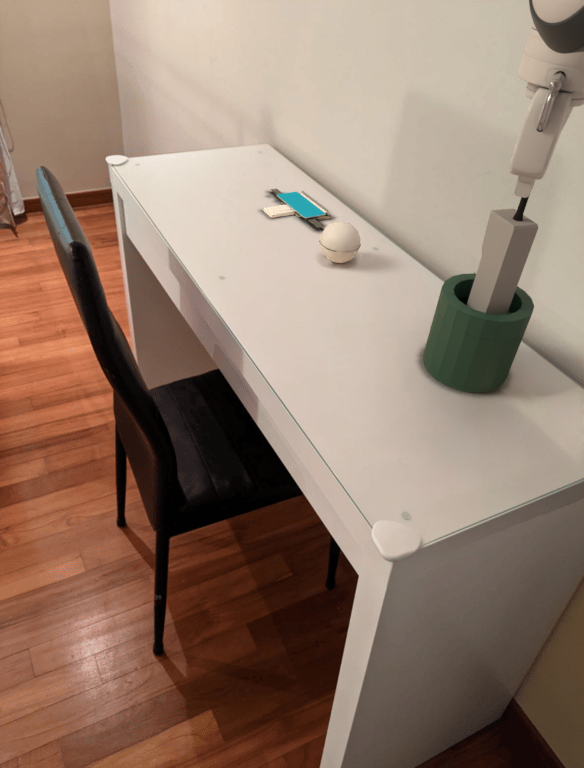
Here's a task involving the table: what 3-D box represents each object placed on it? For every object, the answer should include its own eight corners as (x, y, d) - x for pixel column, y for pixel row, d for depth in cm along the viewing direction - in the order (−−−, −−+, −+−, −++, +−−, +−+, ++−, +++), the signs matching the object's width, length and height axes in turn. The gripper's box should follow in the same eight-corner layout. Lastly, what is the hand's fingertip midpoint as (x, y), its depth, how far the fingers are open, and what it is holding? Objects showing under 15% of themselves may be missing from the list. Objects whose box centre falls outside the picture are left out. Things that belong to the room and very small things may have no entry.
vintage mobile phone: (477, 318, 88) (536, 141, 73) (498, 338, 85) (564, 156, 69) (456, 322, 87) (511, 142, 71) (475, 341, 83) (538, 157, 68)
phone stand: (245, 195, 131) (246, 188, 130) (293, 189, 136) (294, 181, 135) (291, 235, 118) (292, 227, 117) (342, 226, 123) (343, 218, 122)
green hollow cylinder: (512, 357, 93) (539, 288, 85) (498, 403, 84) (527, 331, 76) (434, 333, 96) (453, 265, 88) (413, 375, 87) (432, 303, 79)
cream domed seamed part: (310, 254, 113) (314, 216, 108) (345, 249, 116) (350, 212, 111) (335, 280, 106) (341, 241, 102) (372, 274, 109) (379, 236, 104)
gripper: (590, 89, 56) (538, 230, 65) (600, 54, 71) (558, 172, 79) (520, 77, 58) (479, 215, 66) (545, 45, 72) (509, 162, 81)
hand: (522, 192), depth 73 cm, fingers closed on vintage mobile phone
